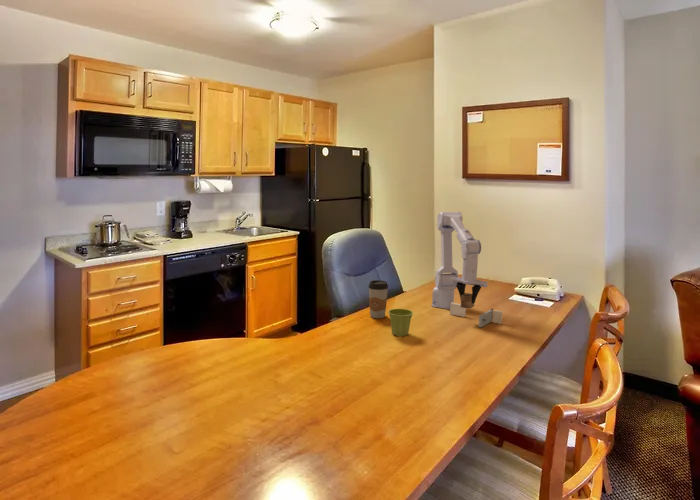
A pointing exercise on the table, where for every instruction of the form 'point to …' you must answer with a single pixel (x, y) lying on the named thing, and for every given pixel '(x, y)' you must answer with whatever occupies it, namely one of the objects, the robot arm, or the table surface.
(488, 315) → the door
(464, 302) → the block
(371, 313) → the coffee cup
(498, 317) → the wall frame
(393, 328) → the plant pot
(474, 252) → the robot arm
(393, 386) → the table surface
